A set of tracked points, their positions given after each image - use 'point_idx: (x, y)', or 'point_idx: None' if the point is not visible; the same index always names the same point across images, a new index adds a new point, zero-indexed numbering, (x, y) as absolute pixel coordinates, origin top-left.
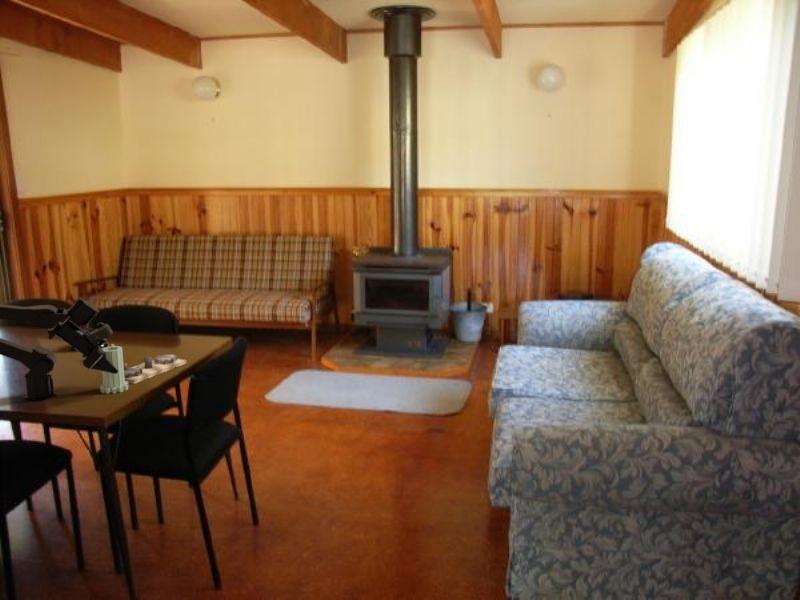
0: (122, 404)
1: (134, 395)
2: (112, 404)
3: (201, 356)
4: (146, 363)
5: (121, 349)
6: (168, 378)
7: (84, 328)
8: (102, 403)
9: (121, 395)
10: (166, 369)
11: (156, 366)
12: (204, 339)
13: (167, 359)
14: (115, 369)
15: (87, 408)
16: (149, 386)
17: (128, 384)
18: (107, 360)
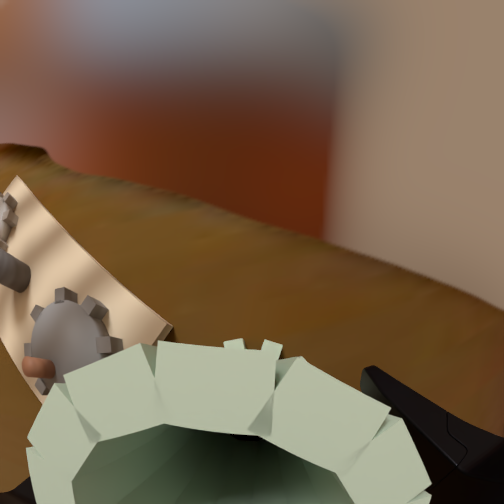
0: (457, 305)
1: (364, 286)
2: (456, 345)
3: (2, 165)
4: (14, 275)
5: (219, 349)
6: (140, 191)
7: None
8: (443, 392)
9: (358, 349)
10: (51, 215)
11: (22, 250)
12: None
13: (6, 211)
14: (393, 381)
15: (476, 419)
16: (234, 245)
17: (242, 339)
18: (473, 442)
